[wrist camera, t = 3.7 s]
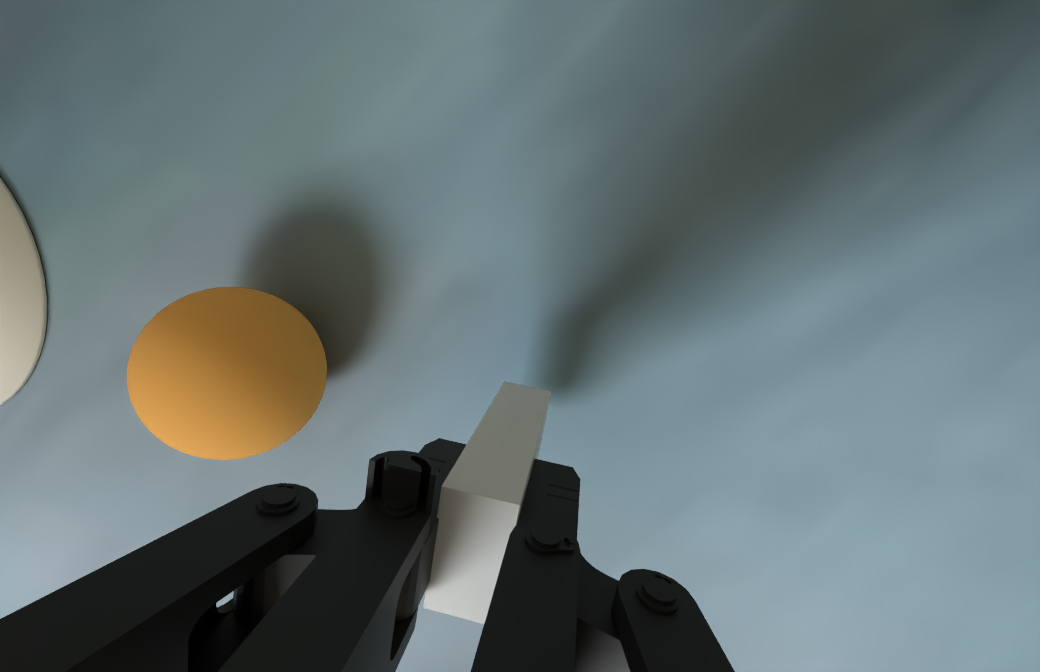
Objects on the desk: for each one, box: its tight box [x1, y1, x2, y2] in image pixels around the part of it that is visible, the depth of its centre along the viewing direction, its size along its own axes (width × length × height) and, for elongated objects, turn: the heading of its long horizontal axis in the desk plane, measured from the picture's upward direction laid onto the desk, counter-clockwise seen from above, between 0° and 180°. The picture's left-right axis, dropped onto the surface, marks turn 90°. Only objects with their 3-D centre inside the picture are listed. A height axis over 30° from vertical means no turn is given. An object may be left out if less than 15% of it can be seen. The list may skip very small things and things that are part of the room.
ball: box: [127, 287, 327, 460], centre depth 16 cm, size 6×6×6 cm
